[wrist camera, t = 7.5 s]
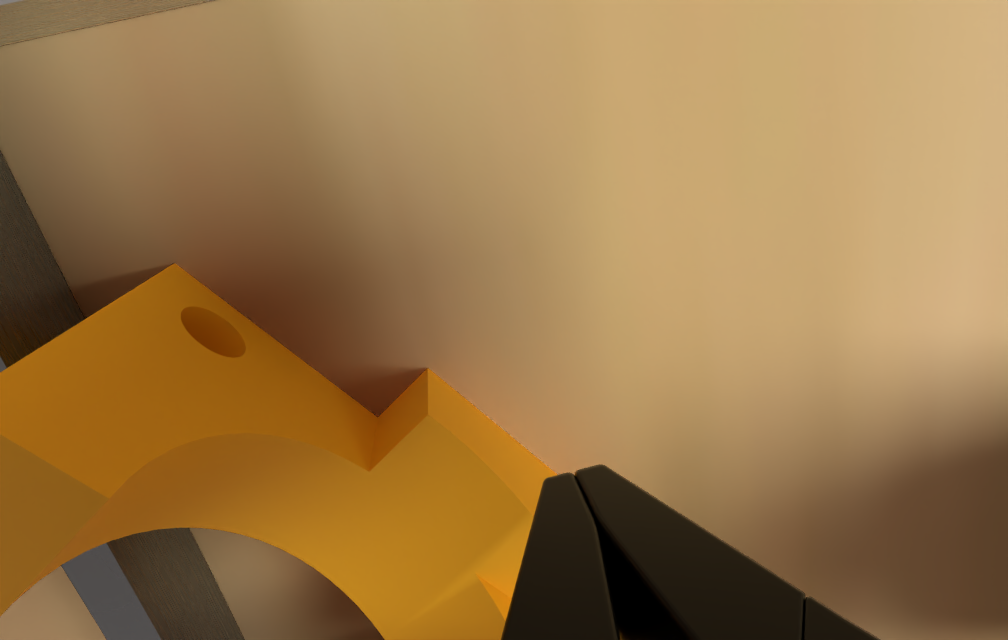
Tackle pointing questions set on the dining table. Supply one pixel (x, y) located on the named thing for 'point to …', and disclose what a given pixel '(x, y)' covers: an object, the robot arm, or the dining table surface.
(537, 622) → the robot arm
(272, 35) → the dining table surface
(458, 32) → the dining table surface
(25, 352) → the rail bay
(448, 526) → the pipe clamp
